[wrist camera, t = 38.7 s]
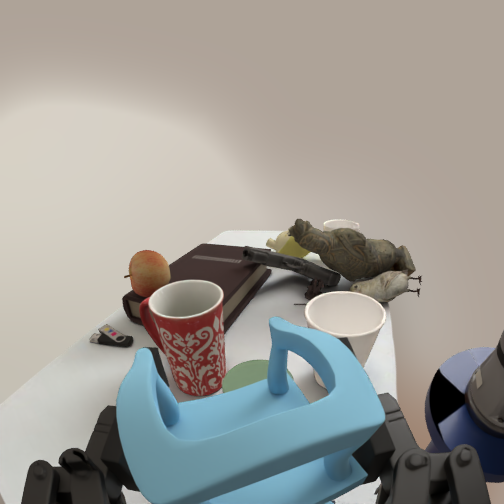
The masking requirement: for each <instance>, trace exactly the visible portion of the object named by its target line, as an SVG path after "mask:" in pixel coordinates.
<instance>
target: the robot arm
mask: <svg viewBox="0 0 504 504" xmlns="http://www.w3.org/2000/svg"><path fill="white" fill-rule="evenodd" d="M337 339H339V340H340V341H341V342H342V343H343V344H344V345H345V346H346V347H347V348H348V349H349V350H350V351H351V352H352V353H353V355H354V356H355V357H356V355H355V353H354V351H353V348H352V346H351V344H350V342H349V340H348V338H347V337H342V338H337ZM143 348H148V349H149V350H150V351H151V353H152V356H153V359H154V363H155V366H156V369H157V373H158V374H159V376H160V377H161V378H162V380H163V381H164V382H165V384H166V385H167V386H168V388H169V383H168V380H167V377H166V374H165V371H164V368H163V365H162V361H161V358H160V355H159V352H158V348H150V347H143ZM356 359H357V357H356ZM357 360H358V359H357ZM377 396H378V398H379V400H380V402H381V404H382V407H383V409H384V413H385V421H384V422H383V424H382V425H381V426H380V427H379V428H378V429H377V431H376V432H375V433H374V434H373V435H372V436H371V437H370V438H369V439H368V440H367V441H366V442H365V443H364V444H363V445H362V446H360V447H359V448H358V449H357V450H356V451H355V452H354V453H353V454H352V456H353V457H354V458H355V460H356V461H357V462H358V463H359V464H360V466H361V467H362V468H363V469H364V470H365V472H366V473H367V474H368V476H367V477H366V479H365V481H364V482H363V484H366V483H370V482H374V481H376V480H377V478H378V477H380V480H381V484H380V486H379V487H378V488H377V489H376V491H375V493H374V494H376V495H377V493H378V495H377V500H376V504H491V502H490V498H489V494H488V490H487V485H486V481H485V478H484V474H483V470H482V467H481V464H480V460H479V457H478V454H477V452H476V450H475V449H474V448H473V447H472V446H469V445H466V444H465V445H459V446H457V447H455V448H454V449H453V450H452V451H451V452H448V453H428V452H426V451H425V450H423V449H421V448H420V447H419V446H418V445H417V443H416V441H415V439H414V437H413V434H412V432H411V430H410V428H409V426H408V424H407V422H406V419H405V418H404V415H403V413H402V411H400V407H399V405H398V403H397V401H396V399H394V398H393V397H392V396H391V395H390V394H389V393H384V394H379V395H377ZM465 404H466V408H467V411H468V413H469V415H470V417H471V418H472V420H473V421H474V423H475V424H476V425H477V426H478V427H479V428H480V429H482V430H483V431H484V432H486V433H487V434H489V435H491V436H494V437H497V438H501V439H504V331H503V333H502V335H501V338H500V340H499V343H498V345H497V347H496V348H495V350H494V351H493V352H492V353H491V354H490V355H489V356H488V357H487V359H486V360H485V361H484V362H483V363H482V364H481V365H480V366H479V367H478V368H477V369H476V370H475V371H474V373H473V374H472V376H471V378H470V380H469V382H468V384H467V386H466V390H465ZM58 463H59V464H60V465H61V466H62V467H52V466H51V465H50V464H49V463H48V462H47V461H44V460H38V461H35V462H33V463H32V464H31V465H30V467H29V470H28V474H27V478H26V482H25V487H24V492H23V497H22V502H21V504H126V500H125V497H124V494H123V492H122V491H121V490H122V486H123V485H124V486H125V487H126V488H127V489H128V490H133V491H139V492H140V490H139V488H138V487H137V485H136V483H135V481H134V478H133V476H132V474H131V472H130V469H129V466H128V464H127V461H126V458H125V455H124V451H123V448H122V444H121V440H120V436H119V430H118V424H117V414H116V406H109V405H108V406H107V407H106V408H105V409H104V410H103V411H102V412H101V413H100V416H99V418H98V421H97V424H96V425H95V428H94V431H93V433H92V435H91V438H90V440H89V443H88V445H87V448H86V451H85V452H84V451H83V450H81V449H78V448H71V449H67V450H66V451H64V452H63V453H62V454H61V456H60V457H59V462H58ZM361 485H362V484H361Z"/></svg>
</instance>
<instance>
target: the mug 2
mask: <svg viewBox="0 0 504 504" xmlns="http://www.w3.org/2000/svg"><path fill="white" fill-rule="evenodd" d="M338 228H351V229H353V230H355V231H357V232H359V224H358V223H356V222H354V221H349V220H329V221H326V222H324V231H332V230H334V229H338Z"/></svg>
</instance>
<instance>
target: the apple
mask: <svg viewBox="0 0 504 504" xmlns="http://www.w3.org/2000/svg"><path fill="white" fill-rule="evenodd" d="M126 277H130V280H131V285H132V289H133V290H134V292H135V293H136V294H138V295H140V296H143V297H151V295H152V294H153V293H154V292H155V291H157V290H158V289H160V288H161V287H163V286H165V285H167V284H168V283H169V281H170V269H169V266H168V263H167V261H166V260H165V259H164V258H163V256H161V255H160V254H159V253H157V252H154V251H150V250H143V251H140V252H137V253H136V254H135V255H134V256H133V257H132V259H131V261H130V265H129V275H127V276H124V278H126Z"/></svg>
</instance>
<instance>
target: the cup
mask: <svg viewBox="0 0 504 504" xmlns="http://www.w3.org/2000/svg"><path fill="white" fill-rule="evenodd" d="M304 315H305V318H306V320H307V324H308V328H311V329H315V330H319V331H322V332H325V333H328V334H330V335H331V336H333V337H335V338H342V337H347V338H348V340H349V342H350V344H351V346H352V348H353V351H354V353H355V355H356V357H357V359H358V361H359V363H360V364H361V366H362V367H364V365H365V363H366V361H367V359H368V357H369V354H370V352H371V350H372V347H373V345H374V343H375V341H376V338H377V336H378V333H379V331H380V329H381V327H382V326H383V325H384V323H385V321H386V312H385V309H384V308H383V306H382V305H381V304H380V303H379V302H378V301H376V300H374V299H373V298H371V297H369V296H366V295H363V294H360V293H355V292H348V291H336V292H329V293H324V294H321V295H319V296H316V297H314V298H313V299H312V300H310V301H309V302H308V303H307V305H306V307H305V310H304ZM314 375H315V379H316V381H317V382H318V383H319V384H320V385H321V386H322V387H324V388H326V387H325V385H324V383H323V381H322V379H321V377H320V376H319V375H318V373H317V372H316V371H315V369H314ZM326 389H327V388H326Z"/></svg>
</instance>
